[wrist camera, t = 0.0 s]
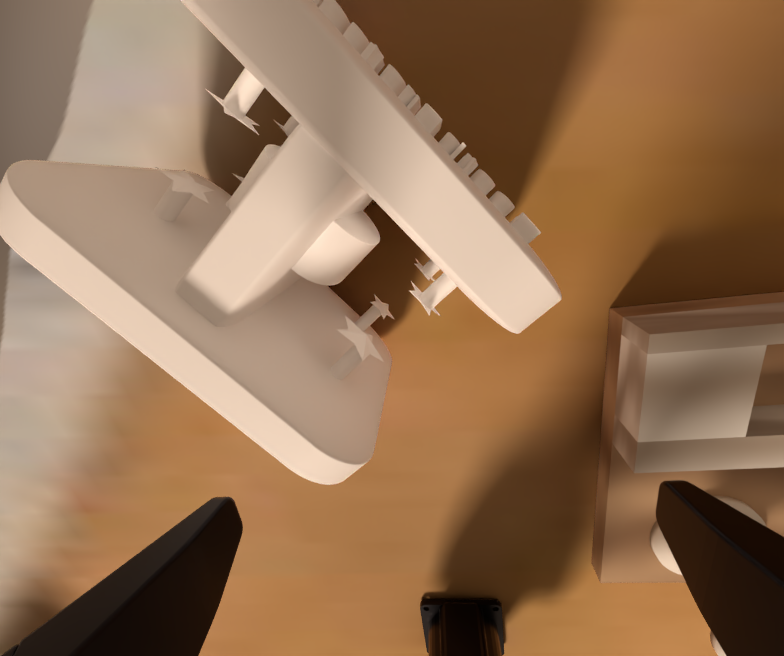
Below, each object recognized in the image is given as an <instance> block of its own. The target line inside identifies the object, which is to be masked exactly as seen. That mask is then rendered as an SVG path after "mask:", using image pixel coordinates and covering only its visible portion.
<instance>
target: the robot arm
mask: <svg viewBox="0 0 784 656" xmlns="http://www.w3.org/2000/svg"><path fill="white" fill-rule="evenodd" d="M656 520H657V523H658V525H659V528H660V530H661V532H662V534H663V536H664V538H665V540H666V542H667V544H668V546H669V548H670V550H671V553H672V555H673V557H674V559H675V561H676V563H677V565H678V567H679V569H680V571H681V573H682V575H683V577H684V579H685V582H686V584H687V586H688V588H689V590H690V592H691V594H692V596H693V598H694V600H695V602H696V604H697V606H698V608H699V610H700V612H701V613H702V615H703V617H704V619H705V620H706V622H707V624H708V626H709V627H710V629H711V631H712V633H713V634H714V636H715V638H716V639H717V641H718V643H719V644H720V646H721V648H722V649H723V651H724V653H725V654H726V656H784V537H783V536H781V535H780V534H778V533H776V532H775V531H773V530H771V529H769V528H768V527H766V526H764V525H762V524H761V523H759V522H757V521H756V520H754V519H752V518H750V517H749V516H747V515H745V514H743V513H742V512H740V511H738V510H737V509H735V508H733V507H731V506H730V505H728V504H726V503H724V502H723V501H721V500H719V499H718V498H716V497H714V496H712V495H711V494H709V493H707V492H705V491H704V490H702V489H700V488H698V487H697V486H695V485H693V484H692V483H690V482H688V481H684V480H671V481H663V482H661V484H660V486H659V491H658V498H657V505H656ZM242 531H243V526H242V521H241V518H240V515H239V513H238V510H237V507H236V504H235V502H234V500H233V499H232V498H231V497H216V498H212V499H211V500H209V501H208V502H207V503H205V504H204V505H203V506H201V507H200V508H199V509H197V510H196V511H195V512H193V513H192V514H191V515H189V516H188V517H186V518H185V519H184V520H182V521H181V522H180V523H178V524H177V525H176V526H174V527H173V528H172V529H170V530H169V531H168V532H166V533H165V534H164V535H162V536H161V537H160V538H158V539H157V540H156V541H154V542H153V543H152V544H150V545H149V546H148V547H146V548H145V549H144V550H142V551H141V552H140V553H138V554H137V555H136V556H134V557H133V558H132V559H130V560H129V561H127V562H126V563H125V564H123V565H122V566H121V567H119V568H118V569H117V570H115V571H114V572H113V573H111V574H110V575H109V576H107V577H106V578H105V579H103V580H102V581H101V582H99V583H98V584H97V585H95V586H94V587H93V588H91V589H90V590H89V591H87V592H86V593H85V594H83V595H82V596H81V597H79V598H78V599H76V600H75V601H74V602H72V603H71V604H70V605H68V606H67V607H66V608H64V609H63V610H62V611H60V612H59V613H58V614H56V615H55V616H54V617H52V618H51V619H50V620H48V621H47V622H46V623H44V624H43V625H42V626H40V627H39V628H38V629H36V630H35V631H34V632H32V633H31V634H30V635H28V636H27V637H26V638H24V639H23V640H22V641H21V642H20V644H17V645H15V646H13V647H12V648H11V649H9V650H8V651H7V652H5V653H4V654H3V655H1V656H198V655H199V653H200V650H201V648H202V646H203V643H204V641H205V638H206V636H207V634H208V631H209V629H210V626H211V624H212V622H213V619H214V617H215V614H216V612H217V609H218V606H219V603H220V601H221V598H222V595H223V592H224V588H225V585H226V582H227V579H228V576H229V573H230V570H231V567H232V564H233V561H234V557H235V554H236V551H237V548H238V545H239V542H240V539H241V536H242ZM420 610H421V616H422V623H423V629H424V635H425V641H426V648H427V652H428V653H429V656H503V655H504V641H503V620H502V606H501V602H500V601H498V600H422V601H421V603H420Z"/></svg>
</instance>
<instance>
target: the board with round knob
mask: <svg viewBox="0 0 784 656" xmlns="http://www.w3.org/2000/svg"><path fill="white" fill-rule="evenodd" d="M671 480H684V481H688V482H690V483H692V484H693V485H695V486H697V487H698V488H700V489H702V490H704V491H705V492H707V493H709V494H711V495H712V496H714V497H716V498H718V499H719V500H721V501H723V502H724V503H726V504H728V505H730V506H731V507H733V508H735V509H737V510H738V511H740V512H742V513H743V514H745V515H747V516H749V517H750V518H752V519H754V520H756V521H757V522H759V523H761V524H762V525H764V526H766V527H768V528H769V529H771V530H773V531H775V532H776V533H778V534H780V535H781V536H783V537H784V292H775V293H764V294H754V295H743V296H733V297H722V298H712V299H701V300H691V301H680V302H670V303H659V304H649V305H638V306H627V307H617V308H610V311H609V325H608V339H607V353H606V367H605V381H604V395H603V409H602V423H601V437H600V452H599V466H598V480H597V494H596V508H595V522H594V536H593V550H592V565H593V567H594V570H595V572H596V574H597V576H598V579H599V581H600V583H686V582H685V579H684V577H683V575H682V573H681V571H680V569H679V567H678V565H677V563H676V561H675V559H674V557H673V555H672V553H671V550H670V548H669V546H668V544H667V542H666V540H665V538H664V536H663V534H662V532H661V530H660V528H659V525H658V523H657V520H656V505H657V498H658V491H659V486H660V484H661V482H663V481H671ZM710 639H711V643H712V646H713V648H714V650H715V651H716V653H717V654H718V656H726V654H725V653H724V651H723V649H722V648H721V646H720V644H719V643H718V641H717V639H716V638H715V636H714V634H713V633H712V631H711V633H710Z"/></svg>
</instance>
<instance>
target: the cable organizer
mask: <svg viewBox="0 0 784 656" xmlns="http://www.w3.org/2000/svg"><path fill="white" fill-rule="evenodd" d="M180 1H181V2H182V3H183V4H184V5H185V6H186V7H187V8H188V9H189V10H190V11H191V12H192V13H193V14H194V15H195V16H196V17H197V18H198V19H199V20H200V21H201V22H202V23H203V24H204V25H205V26H206V27H207V28H208V30H209V31H210V32H211V33H212V34H213V35H214V36H215V37H216V38H217V39H218V40H219V41H220V42H221V43H222V44H223V45H224V46H225V47H226V48H227V49H228V50H229V51H230V52H231V53H232V54H233V55H234V56H235V57H236V58H237V59H238V60H239V62H240V63H241V64H242V65H243V66H244V67H245V68H244V70H243V71H242V73H241V74H240V76H239V77H238V79H237V80H236V82H235V83H234V85H233V86H232V88H231V89H230V91H229V92H228V94H227V95H226V97H225V98H224V100H222V99H221V98H219V97H217V96H216V95H214V94H213V93H211V92H210V91H208V90H207V91H208V92H209V93H210V94H211V95H212V96H213V97H214V98H215V99H216V100H217V101H218V102H219V103H220V104H221V105H222V106H223V107H224V113H226V114H228V115H230V116H232V117H234V118H236V119H237V120H239V121H240V122H241V123H243V124H244V125H246V126H247V127H248V128H250V129H251V130H253V131H254V132H255V133H257V131H256V130H255V128H254V127H253V126H252V124H253V125H258V124H257V123H255V122H254V121H253V120H251V119H250V118H248V117H247V116H246V113H247V112H248V111H249V109H250V108H251V106H252V105H253V103H254V102H255V101H256V99H257V98H258V96H259V95H260V93H261V92H262V90H263V89H264V88H266V89H267V90H268V91H269V92H270V94H271V95H272V96H273V97H274V98H275V99H276V100H277V101H278V102H279V103H280V104H281V105H282V106H283V107H284V108H285V109H286V110H287V111H288V112H289V113H290V114H291V115H292V116H291V117H290V118H289V120H288V121H287V122H286V124H285V125H284V126H282V125H281V124H279V123H278V122H276V121H275V120H274V119H273V120H274V121H275V122H276V123H277V124H278V125H279V126H280V128H281V129H282V130H283V131H284V132H285V133H286V135H287V136H288V138H287V139H286V140H285V142H284V143H283V144H282V146H281V147H280V146H277V145H272V144H269V145H266V146H265V148H264V149H263V151H262V152H261V154H260V155H259V157H258V158H257V160H256V161H255V163H254V164H253V166H252V167H251V169H250V170H249V172H248V174H247V175H246V177H245V178H243V177H240V176H238V175H235V174H233V173H232V174H233V175H234V176H236V177H237V178H238V179H239V180H240V181H242V183H241V184H240V185H239V187H238V188H237V190H236V191H235V192H234V194H233V195H232V196H231V195H230V194H228V193H227V192H226V191H224V190H223V189H222V188H220V187H219V186H217V185H216V184H214V183H213V182H211V181H209V180H208V179H206V178H204V177H202V176H200V175H198V174H195V173H192V172H189V171H185V169H184V170H183V171H180V170H166V169H159V168H157V169H152V168H138V167H124V166H110V165H96V164H81V163H67V162H53V161H39V160H23V161H19V162H15V163H14V164H12V165H10V166H9V168H8V170H7V171H6V174H5V175H4V178H3V180H2V182H1V184H0V235H1V236H2V238H3V239H4V240H5V242H6V243H7V244H8V245H9V246H10V247H11V248H12V249H13V250H14V251H15V252H17V253H18V254H19V255H20V256H21V257H22V258H24V259H25V260H26V261H27V262H29V263H30V264H31V265H32V266H34V267H35V268H36V269H38V270H39V271H40V272H41V273H43V274H44V275H45V276H46V277H48V278H49V279H50V280H51V281H53V282H54V283H55V284H56V285H58V286H59V287H60V288H61V289H63V290H64V291H65V292H67V293H68V294H69V295H70V296H72V297H73V298H74V299H75V300H77V301H78V302H79V303H80V304H82V305H83V306H84V307H85V308H87V309H88V310H89V311H91V312H92V313H93V314H94V315H96V316H97V317H98V318H99V319H101V320H102V321H103V322H104V323H106V324H107V325H108V326H109V327H111V328H112V329H113V330H114V331H116V332H117V333H118V334H120V335H121V336H122V337H123V338H125V339H126V340H127V341H128V342H130V343H131V344H132V345H133V346H135V347H136V348H137V349H138V350H140V351H141V352H142V353H144V354H145V355H146V356H147V357H149V358H150V359H151V360H152V361H154V362H155V363H156V364H157V365H159V366H160V367H161V368H162V369H164V370H165V371H166V372H167V373H169V374H170V375H171V376H173V377H174V378H175V379H176V380H178V381H179V382H180V383H181V384H183V385H184V386H185V387H186V388H188V389H189V390H190V391H191V392H193V393H194V394H195V395H197V396H198V397H199V398H200V399H202V400H203V401H204V402H205V403H207V404H208V405H209V406H210V407H212V408H213V409H214V410H215V411H217V412H218V413H219V414H220V415H222V416H223V417H224V418H226V419H227V420H228V421H229V422H231V423H232V424H233V425H234V426H236V427H237V428H238V429H239V430H241V431H242V432H243V433H244V434H246V435H247V436H248V437H249V438H251V439H252V440H253V441H255V442H256V443H257V444H258V445H260V446H261V447H262V448H263V449H265V450H266V451H267V452H268V453H270V454H271V455H272V456H273V457H275V458H276V459H277V460H279V461H280V462H281V463H282V464H284V465H285V466H286V467H287V468H289V469H290V470H292V471H293V472H295V473H296V474H298V475H299V476H301V477H303V478H305V479H308V480H310V481H312V482H316V483H319V484H326V485H331V484H337V483H340V482H342V481H344V480H345V479H347V478H348V477H349V476H350V475H352V474H353V473H354V472H356V471H357V470H358V469H359V468H361V467H362V466H363V465H364V464H366V463H367V462H368V461H369V460H370V459H371V458H372V456H373V453H374V449H375V444H376V439H377V434H378V429H379V424H380V419H381V414H382V409H383V404H384V399H385V394H386V389H387V384H388V379H389V375H390V370H391V365H392V358H391V355H390V352H389V350H388V348H387V346H386V345H385V343H384V342H383V340H382V339H381V338H380V336H379V335H378V334H377V333H376V332H375V331H374V329H373V328H372V327H371V326H370V325H371V324H372V323H373V322H374V321H375V320H376V319H377V318H379V317H380V316H381V315H382V317H383V319H384V318H385V317H386V315H388V316H389V317H391V318H393V316H392V315H391V313H390V312H389V311H388V308H389V304H386V303H383V302H381V301H380V300H379V299H378V297H377V296H376V295H375V294H374V296H375V300H376V301H374V302H370V303H372V304H373V306H371V307H370V308H369V309H368V310H367V311H366V312H365V313H364V314H363V315H362V316H361V317H360V316H359V315H358V314H357V313H356V312H355V311H354V310H353V309H352V308H351V307H350V306H348V305H347V304H346V303H345V302H344V301H343V300H342V299H341V298H340V297H339V296H338V295H337V294H336V293H335V292H334V291H333V290H331V289H330V288H329V287H328V286H330V285H336V284H338V283H340V282H342V281H343V280H344V279H345V278H346V276H347V275H348V274H349V273H350V272H351V271H352V270H353V269H354V268H355V267H356V266H357V265H358V264H359V263H360V262H361V261H362V260H363V259H364V258H365V257H366V256H367V255H368V253H369V252H370V251H371V250H372V249H373V248H374V247H375V246H376V245H377V244H378V243H379V242H380V235H379V232H378V230H377V228H376V226H375V225H374V223H373V222H372V220H371V219H370V218H369V217H368V216H367V214H366V213H365V212H364V211H363V210H364V209H365V208H366V207H367V206H368V205H369V203H370V202H371V201H372V200H374V201H375V202H376V203H377V204H378V205H379V206H380V207H381V208H382V209H383V210H384V211H385V212H386V213H387V214H388V215H389V216H390V217H391V218H392V219H393V220H394V221H395V223H396V224H397V225H398V226H399V227H400V228H401V229H402V230H403V231H404V232H405V233H406V234H407V235H408V236H409V237H410V238H411V239H412V240H413V241H414V242H415V243H416V244H417V245H418V246H419V247H420V248H421V249H422V250H423V251H424V252H425V253H426V255H427V256H428V257H429V258H430V260H429V261H428V262H427V263H426V264H425V265H424V266H422V265H421V264H420V263H419V261H418V260H417V259H416V258H415V259H416V261H417V263H418V264H415V263H414V264H415V265H416V266H417V268H418V269H419V270H420V271H421V272H422V273H423V275H424V276H425V277H426V278H427V279H428V280H429V279H431V280H433V281H434V282H433V283H432V284H431V285H430V286H429V287H428V288H427V289H426V290H425V291H424V292H423V293H422V292H421V291H420V290H419V289H418V288H417V287H416V286H415V284H414V283H413V282H412V281H411V282H412V285H413V287H414V289H415V291H410V292H411V293H412V294H413V295H414V296H415V297H416V298H417V299H418V300H419V301H420V302H421V304H422V305H423V307H424V308H425V310H426V311H427V313H428V314H429V316H430V312H431V310H432V311H434V312H435V313H437V314H438V315H440V314H439V313H438V312H437V311H436V309H435V308H434V307H435V306H436V305H437V304H438V303H439V302H440V301H442V300H443V299H444V298H445V297H446V296H447V295H448V294H449V293H450V292H452V291H453V290H454V289H455V288H456V287H457V286H458V288H459V289H460V290H461V291H462V292H463V293H464V294H465V295H466V296H467V297H468V298H469V299H471V300H472V301H473V302H474V303H475V304H476V305H477V306H478V307H479V308H480V309H481V310H482V311H484V312H485V313H486V314H487V315H488V316H489V317H491V318H492V319H493V320H494V321H496V322H497V323H498V324H500V325H501V326H502V327H504V328H505V329H507V330H509V331H511V332H513V333H517V334H518V333H520V332H521V331H523V330H524V329H525V328H526V327H528V326H529V325H530V324H531V323H533V322H534V321H535V320H536V319H538V318H539V317H540V316H541V315H543V314H544V313H545V312H547V311H548V310H549V309H550V308H552V307H553V306H554V305H555V304H557V303H558V302H559V301H560V300H561V299H562V296H561V292H560V289H559V287H558V285H557V283H556V281H555V280H554V278H553V276H552V275H551V273H550V272H549V270H548V269H547V268H546V266H545V265H544V263H543V262H542V261H541V259H540V258H539V257H538V256H537V254H536V253H535V252H534V250H533V249H532V248H531V247H530V246H529V243H530V242H531V241H532V240H533V239H534V238H536V237H537V236H538V235H539V234H540V233H541V232H540V231H539V230H538V228H537V227H536V226H535V225H534V224H533V223H532V222H531V220H530V219H529V218H528V217H527V216H526V215H525V214H524V213H521V214H520V215H519V216H518V217H517V216H516V217H515V218H514V219H513V220H512V221H511V222H510V223H509V222H508V220H507V219H506V218H505V217H506V216H507V215H508V214H509V213H510V212H511V211H512V210H513V209H514V208H515V206H514V205H513V203H512V202H511V201H510V200H509V198H508V197H507V196H505V195H504V194H503V193H502V192H500V191H496V192H495V193H494V194H493V195H492V196H491V197H490V198H489V199H488V198H487V197H486V195H487V194H488V193H489V192H490V191H491V190H492V189H493V188H494V187H495V183H494V182H493V180H492V179H491V178H490V177H489V176H488V175H487V174H486V173H485V172H484V171H483V170H481V169H478V170H477V171H476V172H475V173H474V174H473V175H472V176H471V177H470V178H469V177H468V176H469V175H470V174H471V172H472V171H473V170H474V169H475V168H476V167H477V166H478V163H477V162H476V159H475V157H474V158H473V157H472V156H471V155H470V154H469V153H467V154H466V155H465V156H463V157H462V158H461V160H460V161H459V162H458V163H456V162H455V161H454V160H453V159H454V158H455V157H456V156H457V155H458V154H459V153H460V152H461V151H462V150H463V149H464V148H465V147H466V145H465V144H464V143H463V142H462V143H461V144H460V143H459V142H458V140H457V139H456V138H455V137H454V136H453V135H452V134H451V133H450V132H448V133H447V134H446V135H445V136H444V137H443V138H442V139H441V140H440V141H439V142H437V141H436V139H435V138H434V136H435V135H436V134H437V133H438V132H439V130H440V128H441V124H442V118H441V117H440V116H439V115H438V114H437V113H436V112H435V110H434V109H433V108H432V107H431V106H430V105H429V104H427V103H425V105H424V106H423V107H422V108H421V103H420V97H419V96H418V95H416V93H415V92H414V90H413V89H412V88H411V86H410V85H409V84H408V85H407V86H406V84H405V82H404V80H403V78H402V77H401V75H400V74H399V73H398V72H397V70H396V69H395V68H394V67H393V66H392V65H390V64H388V66H387V67H386V68H385V69H384V71H383V72H382V73H381V74H380V76H379V75H378V73H379V72H380V71H381V69H382V68H383V67H384V66H385V64H384V61H383V59H384V56H383V55H382V53H381V52H380V50H379V48H378V47H377V45H376V44H373V43H372V42H370V43H369V41H368V39H367V38H366V36H365V35H364V33H363V32H362V31H361V29H360V28H359V27H358V26H357V25H356V24H355V23H354V22H352V23H351V24H350V22H349V20H348V18H347V16H346V14H345V13H344V11H343V10H342V8H341V7H340V6H339V4H338V3H337V2H336V1H335V0H180ZM420 108H421V109H420ZM419 109H420V110H419ZM418 110H419V111H418ZM417 112H418V113H417ZM416 113H417V114H416ZM415 114H416V115H415ZM414 115H415V116H414ZM258 126H260V125H258ZM257 134H258V133H257ZM258 135H259V134H258ZM440 269H441V270H442V271H443V272H444V273H443V274H442V275H441V276H440V277H439V278H438V279H437V280H434V279H433V278H432V276H433V275H434V274H435V273H436V272H437V271H438V270H440ZM327 285H328V286H327ZM393 319H394V318H393Z"/></svg>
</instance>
